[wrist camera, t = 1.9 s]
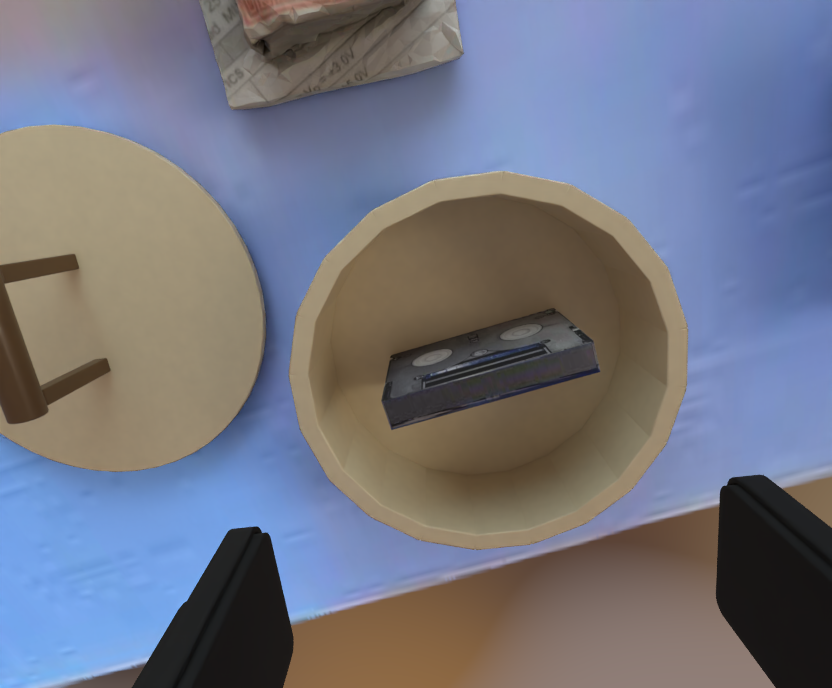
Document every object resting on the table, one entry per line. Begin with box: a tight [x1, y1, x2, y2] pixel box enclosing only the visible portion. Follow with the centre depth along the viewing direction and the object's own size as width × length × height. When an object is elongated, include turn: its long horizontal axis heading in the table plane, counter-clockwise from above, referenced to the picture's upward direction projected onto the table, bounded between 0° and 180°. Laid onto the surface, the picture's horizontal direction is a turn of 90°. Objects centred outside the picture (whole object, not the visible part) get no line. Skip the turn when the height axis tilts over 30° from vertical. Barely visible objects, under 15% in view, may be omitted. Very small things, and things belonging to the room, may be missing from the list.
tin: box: [289, 171, 688, 550], centre depth 23 cm, size 16×16×5 cm
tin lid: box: [0, 125, 266, 472], centre depth 22 cm, size 17×17×7 cm
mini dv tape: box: [381, 308, 600, 430], centre depth 22 cm, size 8×2×6 cm, turn 107°
